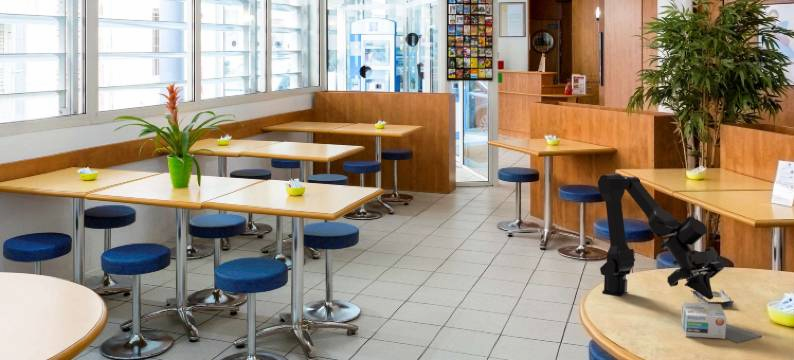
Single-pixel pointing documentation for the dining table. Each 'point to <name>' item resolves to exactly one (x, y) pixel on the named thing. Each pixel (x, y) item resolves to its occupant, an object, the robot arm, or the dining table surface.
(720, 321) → the light bulb box
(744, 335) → the rubber mat
